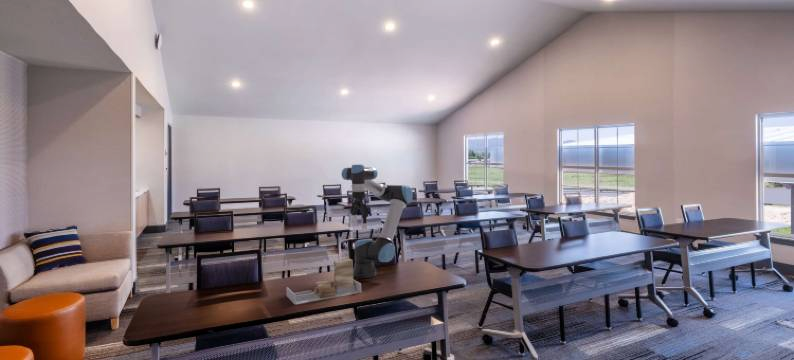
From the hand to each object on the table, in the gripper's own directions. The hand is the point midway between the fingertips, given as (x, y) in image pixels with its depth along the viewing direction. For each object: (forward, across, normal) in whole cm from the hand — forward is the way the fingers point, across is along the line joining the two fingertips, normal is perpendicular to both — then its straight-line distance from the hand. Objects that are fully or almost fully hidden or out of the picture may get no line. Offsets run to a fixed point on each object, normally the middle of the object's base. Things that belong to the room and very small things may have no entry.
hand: (359, 227), depth 251 cm
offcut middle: (+31, +7, -24) cm, 40 cm away
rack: (+35, +6, -24) cm, 43 cm away
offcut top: (+29, +6, -25) cm, 39 cm away
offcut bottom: (+34, +6, -24) cm, 42 cm away
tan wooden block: (+34, +6, -13) cm, 36 cm away
